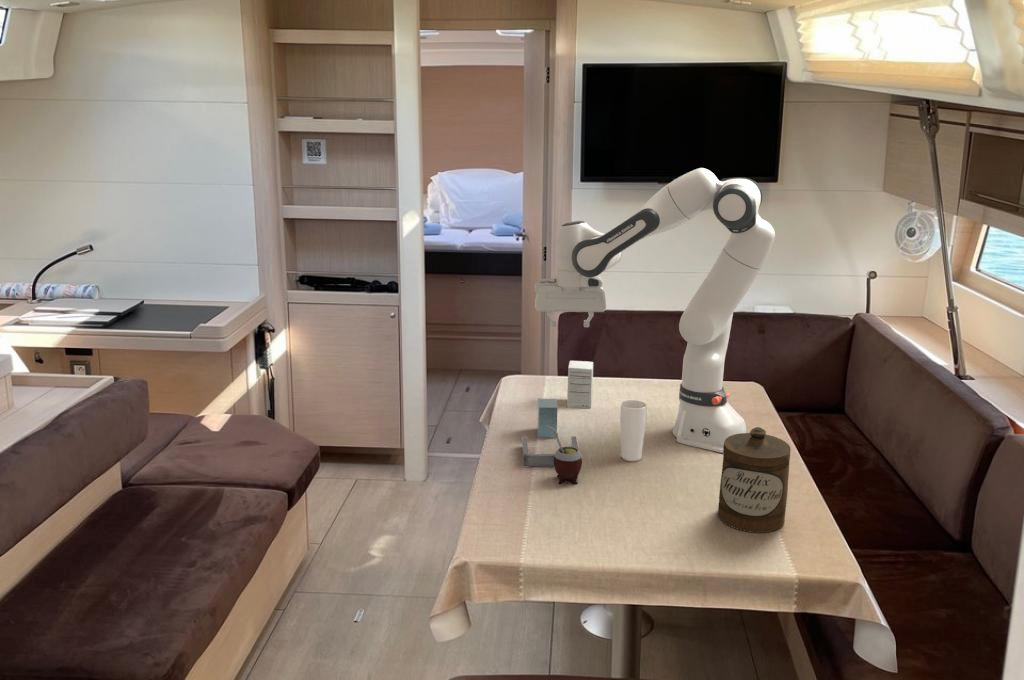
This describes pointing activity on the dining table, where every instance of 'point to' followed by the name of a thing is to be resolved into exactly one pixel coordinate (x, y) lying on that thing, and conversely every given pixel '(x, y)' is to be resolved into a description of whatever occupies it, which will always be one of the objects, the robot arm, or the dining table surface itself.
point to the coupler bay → (541, 455)
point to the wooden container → (754, 481)
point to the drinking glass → (632, 429)
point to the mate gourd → (567, 462)
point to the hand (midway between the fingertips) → (569, 326)
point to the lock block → (547, 418)
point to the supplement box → (580, 384)
